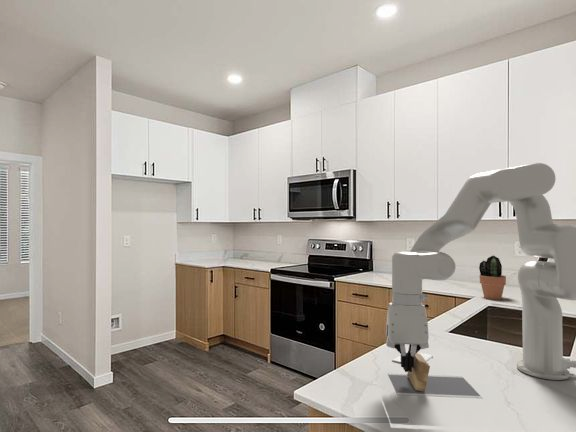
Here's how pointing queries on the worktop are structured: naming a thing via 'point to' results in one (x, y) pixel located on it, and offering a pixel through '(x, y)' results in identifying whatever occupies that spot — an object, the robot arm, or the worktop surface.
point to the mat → (435, 386)
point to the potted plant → (492, 278)
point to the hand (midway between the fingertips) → (407, 369)
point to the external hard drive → (425, 356)
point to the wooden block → (419, 373)
